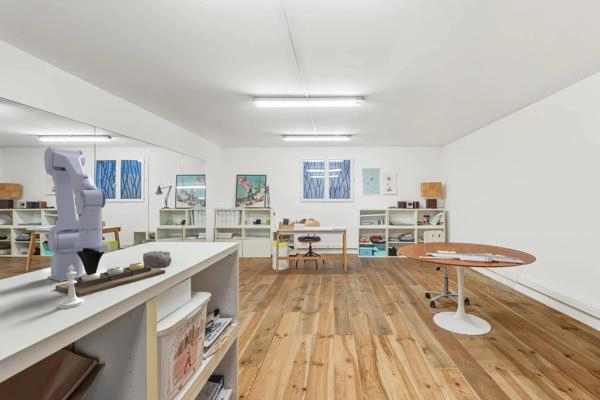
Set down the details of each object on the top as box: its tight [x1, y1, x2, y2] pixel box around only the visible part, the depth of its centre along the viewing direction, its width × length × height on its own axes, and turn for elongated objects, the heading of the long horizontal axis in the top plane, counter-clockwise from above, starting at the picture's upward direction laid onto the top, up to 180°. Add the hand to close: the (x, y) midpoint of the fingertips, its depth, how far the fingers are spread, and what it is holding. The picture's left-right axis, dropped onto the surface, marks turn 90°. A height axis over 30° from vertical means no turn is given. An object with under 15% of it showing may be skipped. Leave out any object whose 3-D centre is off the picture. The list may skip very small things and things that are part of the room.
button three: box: [128, 262, 144, 270], centre depth 95 cm, size 4×4×3 cm
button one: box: [81, 271, 101, 281], centre depth 83 cm, size 4×4×3 cm
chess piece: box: [58, 265, 85, 310], centre depth 69 cm, size 5×5×10 cm
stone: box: [142, 250, 172, 268], centre depth 109 cm, size 8×10×6 cm
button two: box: [106, 266, 124, 275], centre depth 89 cm, size 4×4×3 cm
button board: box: [55, 265, 166, 297], centre depth 89 cm, size 14×26×3 cm, turn 153°
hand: (91, 273), depth 83 cm, fingers closed, pressing on button one
